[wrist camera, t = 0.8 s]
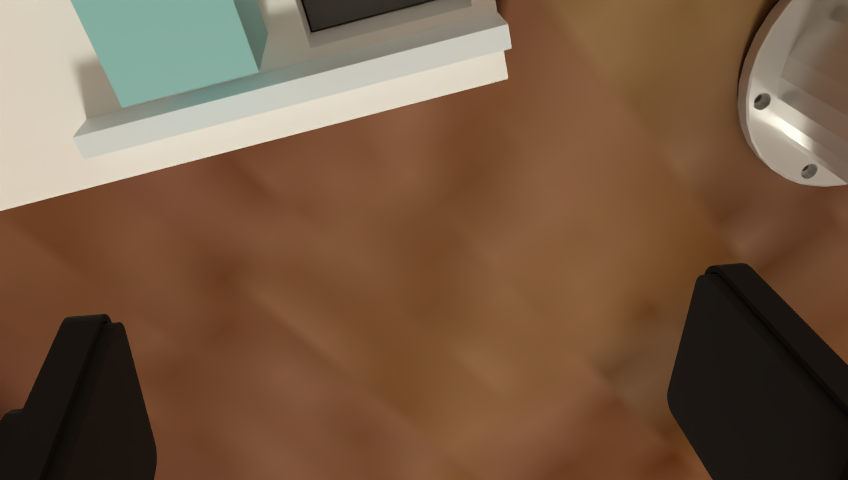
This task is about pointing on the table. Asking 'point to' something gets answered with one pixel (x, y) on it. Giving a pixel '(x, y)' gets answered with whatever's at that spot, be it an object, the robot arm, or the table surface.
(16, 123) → the deck
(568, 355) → the table surface
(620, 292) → the table surface
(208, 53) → the block
